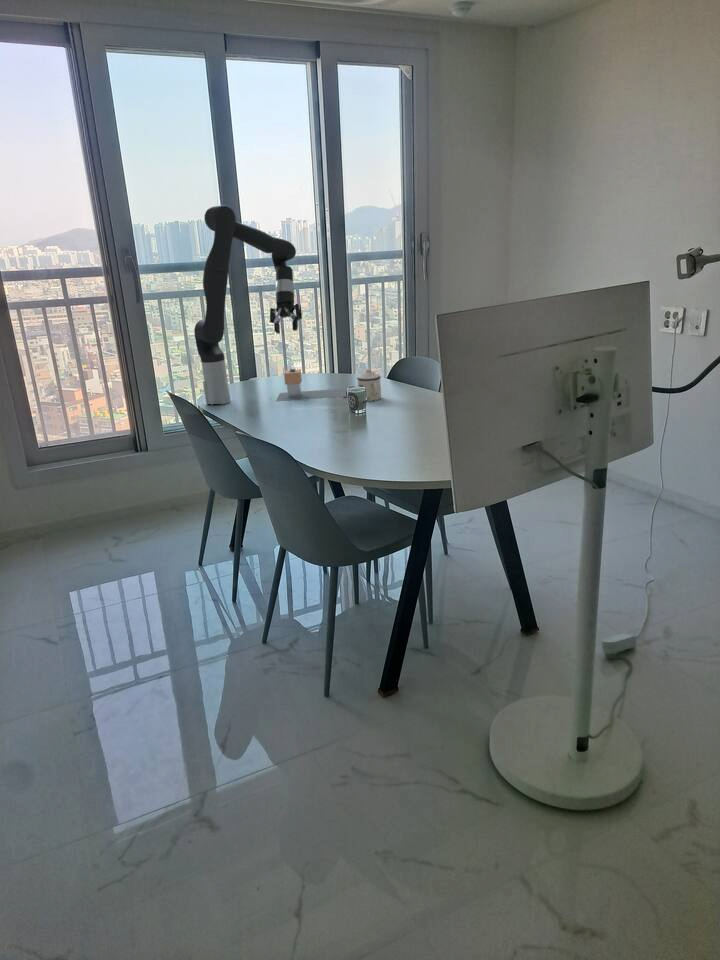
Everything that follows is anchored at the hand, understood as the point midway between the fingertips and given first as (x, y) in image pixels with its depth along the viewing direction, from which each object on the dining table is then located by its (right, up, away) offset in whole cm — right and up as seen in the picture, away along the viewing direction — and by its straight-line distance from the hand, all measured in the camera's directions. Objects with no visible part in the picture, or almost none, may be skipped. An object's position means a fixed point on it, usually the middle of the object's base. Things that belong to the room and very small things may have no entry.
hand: (286, 331), depth 272 cm
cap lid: (+4, -22, -6) cm, 23 cm away
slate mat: (+11, -27, -4) cm, 30 cm away
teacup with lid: (+35, -30, -17) cm, 49 cm away
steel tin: (+4, -27, -4) cm, 28 cm away
